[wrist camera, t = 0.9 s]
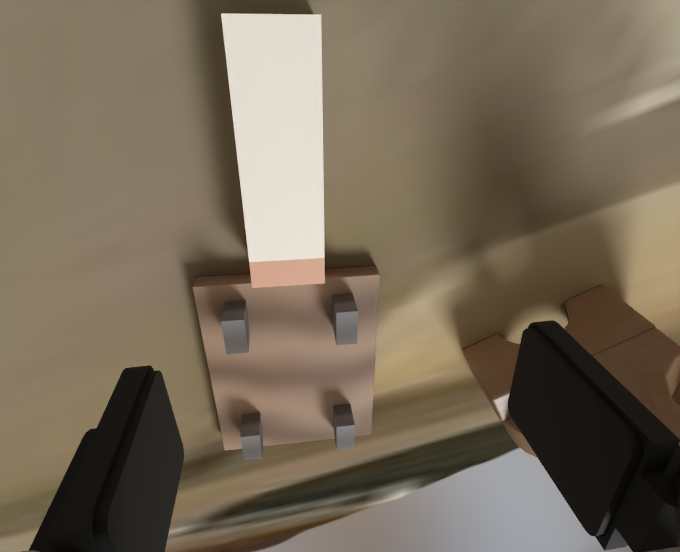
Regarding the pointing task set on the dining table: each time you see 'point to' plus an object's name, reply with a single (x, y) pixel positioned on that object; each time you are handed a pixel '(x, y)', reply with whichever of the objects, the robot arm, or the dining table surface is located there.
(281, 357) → the brown fixture board
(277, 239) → the block
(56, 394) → the dining table surface
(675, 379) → the wooden toy
